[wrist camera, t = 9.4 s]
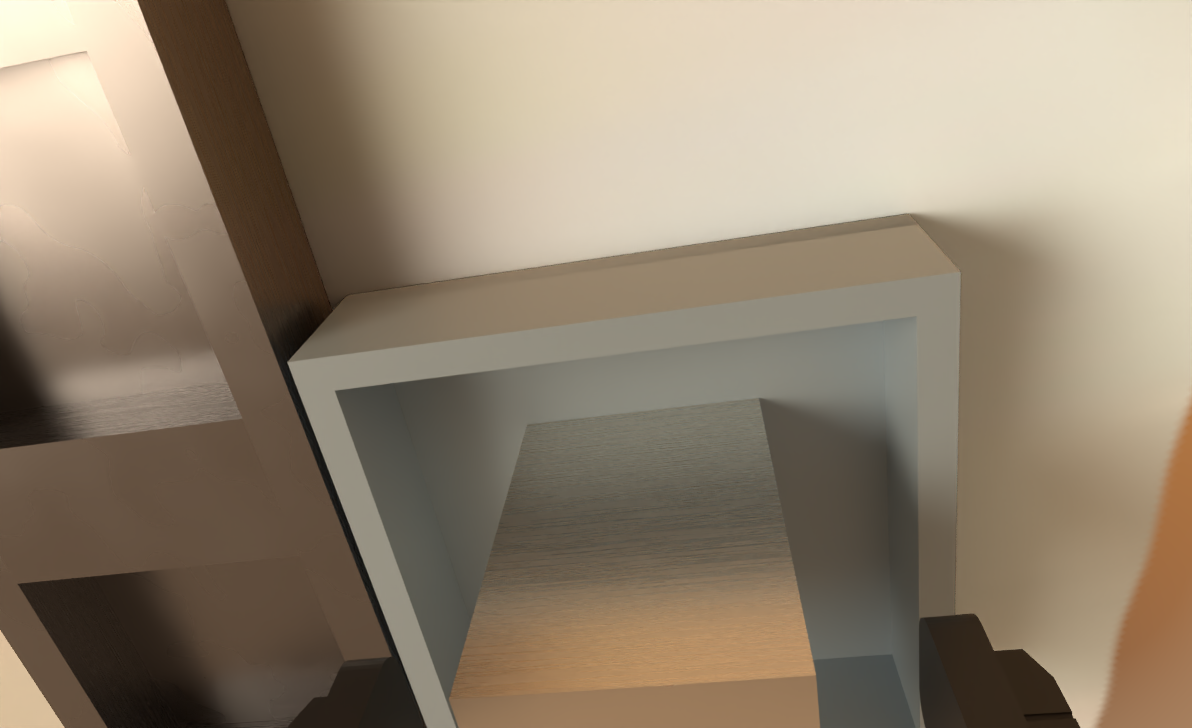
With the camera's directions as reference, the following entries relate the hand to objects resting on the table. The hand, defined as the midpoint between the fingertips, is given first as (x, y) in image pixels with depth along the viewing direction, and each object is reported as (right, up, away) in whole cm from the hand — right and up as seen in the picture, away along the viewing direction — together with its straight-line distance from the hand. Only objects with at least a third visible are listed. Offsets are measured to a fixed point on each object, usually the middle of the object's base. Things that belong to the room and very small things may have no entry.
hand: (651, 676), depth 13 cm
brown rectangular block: (0, +2, +4) cm, 4 cm away
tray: (0, +2, +4) cm, 5 cm away
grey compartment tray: (-9, +3, +5) cm, 11 cm away
